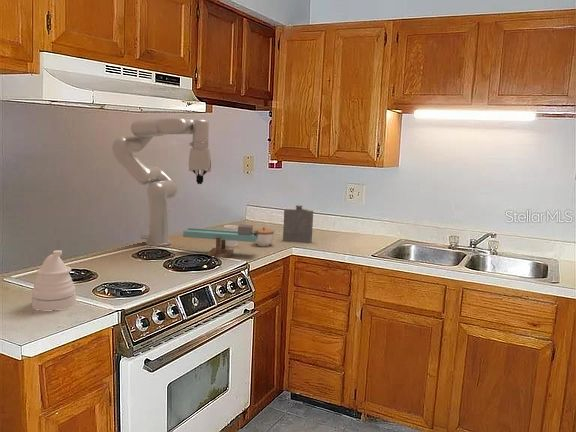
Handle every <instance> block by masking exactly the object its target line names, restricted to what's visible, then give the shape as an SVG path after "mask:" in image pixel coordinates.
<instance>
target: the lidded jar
mask: <svg viewBox="0 0 576 432" xmlns="http://www.w3.org/2000/svg"><path fill="white" fill-rule="evenodd" d="M255 231H258V239H257V241H256V242H255V243H256V245H257V246H258V247H269V246H270V245H271V243H273V240H274V236H275V230H273V229H271V228H266V227H265V226H264V227H262V228H255V229H253V232H255Z"/></svg>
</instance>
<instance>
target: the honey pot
mask: <svg viewBox="0 0 576 432" xmlns="http://www.w3.org/2000/svg"><path fill="white" fill-rule="evenodd" d="M52 252H53V254H49V255H47V257H46V258H45V259H44V261H43V262H42V263H41V264H42V265H41V267H40V268H38V269H37V270H36V273H37V276H36V279H35V280H34V282H35V283H34V284H33V287H32V290H31V307H32V306H33V307H34V308H36V309H39V310H56V309H64V308H68V307H71V306H73V305H74V304H75V303H76V304H77V299H76V298H77V295H76V289H77V287H76V286H75V285H74V281H73V278H72V277H71V275H70V272H71V271H72V268H71V267H70V266H68V265H65V262H64V260H63V259H61V256H62V254H63V250H61V249H60V250H57V249H56V250H53V251H52ZM76 304H75V305H76ZM75 305H74V306H75ZM74 306H73V307H74ZM33 307H32V308H33ZM71 308H72V307H71ZM68 309H69V308H68Z"/></svg>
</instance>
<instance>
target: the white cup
mask: <svg viewBox="0 0 576 432" xmlns="http://www.w3.org/2000/svg"><path fill="white" fill-rule="evenodd" d="M238 226H239V225H234V224H227V225H226V224H225V225H224V226H223V230H228V231H238ZM238 244H239V241H231V240H226V248H230V247H231V248H233V247H234V248H235V247H237V246H238Z"/></svg>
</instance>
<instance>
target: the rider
mask: <svg viewBox="0 0 576 432" xmlns="http://www.w3.org/2000/svg"><path fill="white" fill-rule="evenodd" d="M237 226H238V235H251V236H252V234H253V230H254V225H251V224H239V225H237Z"/></svg>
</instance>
